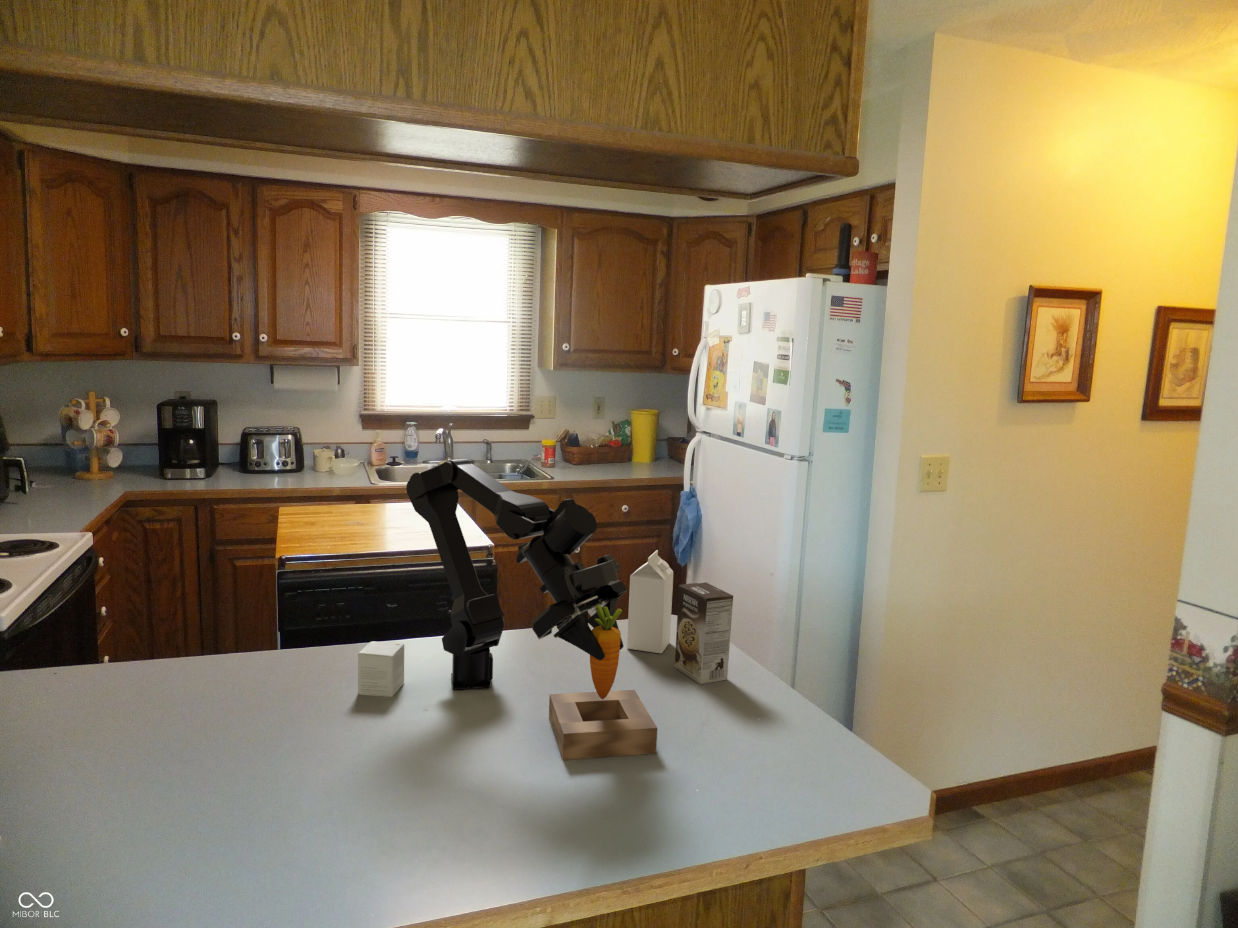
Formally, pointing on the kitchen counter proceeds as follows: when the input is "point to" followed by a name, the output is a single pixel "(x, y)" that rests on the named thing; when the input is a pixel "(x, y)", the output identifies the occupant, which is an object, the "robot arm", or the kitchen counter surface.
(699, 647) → the coffee box
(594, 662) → the carrot
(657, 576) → the milk carton
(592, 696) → the walnut socket block
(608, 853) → the kitchen counter surface
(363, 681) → the product box
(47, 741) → the kitchen counter surface
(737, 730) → the kitchen counter surface
